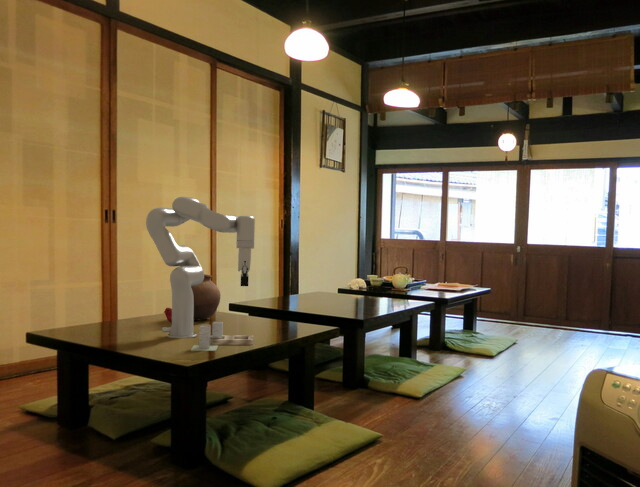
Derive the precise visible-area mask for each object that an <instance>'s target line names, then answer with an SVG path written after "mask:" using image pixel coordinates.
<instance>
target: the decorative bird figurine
mask: <svg viewBox="0 0 640 487" xmlns="http://www.w3.org/2000/svg"><path fill="white" fill-rule="evenodd" d="M163 313H164V315H165V317H166V320H167V321H168V322H169V323H171V324H172V307H171V308H170V307H165V309H164V311H163Z"/></svg>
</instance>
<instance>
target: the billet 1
mask: <svg viewBox="0 0 640 487" xmlns="http://www.w3.org/2000/svg"><path fill="white" fill-rule="evenodd" d="M211 327H212V326H211V324H200V325H199V330H198V336H199V338H198V340H199V341H198V345H199V349H209V348H210V337H211V334H212V333H211V329H212V328H211Z"/></svg>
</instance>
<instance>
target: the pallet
mask: <svg viewBox="0 0 640 487" xmlns="http://www.w3.org/2000/svg"><path fill="white" fill-rule="evenodd" d="M253 344H254V335H253V334H252V335H245V334H243V335H241V334H240V335H239V334H238V335H236V334H234V335H228V334H227V335H225V334H223V339H212V335H211V337H210V345H218V346H221V345H222V346H225V345H227V346H230V345H231V346H234V345H237V346H240V345H243V346H245V345H247V346H248V345H250V346H252V345H253Z"/></svg>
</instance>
